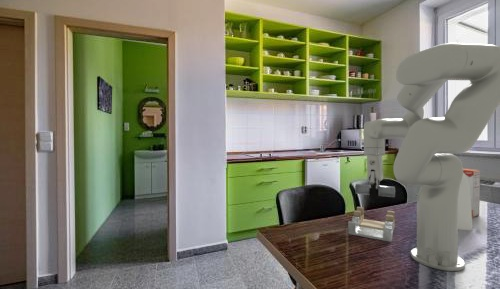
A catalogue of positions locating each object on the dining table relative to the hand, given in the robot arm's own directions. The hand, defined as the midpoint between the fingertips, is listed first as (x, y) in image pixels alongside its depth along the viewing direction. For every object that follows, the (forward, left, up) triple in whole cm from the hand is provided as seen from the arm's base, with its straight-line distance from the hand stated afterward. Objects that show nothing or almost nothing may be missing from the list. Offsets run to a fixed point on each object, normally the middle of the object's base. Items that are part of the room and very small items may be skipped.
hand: (374, 196), depth 101 cm
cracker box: (+40, -31, -12) cm, 52 cm away
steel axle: (0, 0, +1) cm, 1 cm away
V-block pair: (-10, 0, -12) cm, 15 cm away
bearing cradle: (0, 0, -12) cm, 12 cm away
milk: (+18, -25, -12) cm, 33 cm away
